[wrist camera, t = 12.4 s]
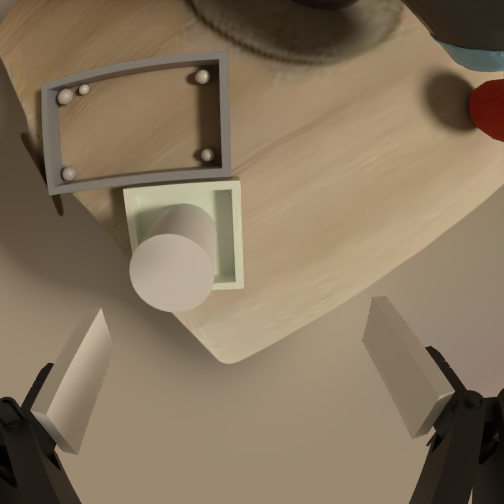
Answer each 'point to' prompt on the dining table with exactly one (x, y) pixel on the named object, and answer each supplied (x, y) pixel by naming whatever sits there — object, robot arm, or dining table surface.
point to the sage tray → (208, 198)
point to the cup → (176, 259)
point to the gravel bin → (132, 67)
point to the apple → (489, 108)
